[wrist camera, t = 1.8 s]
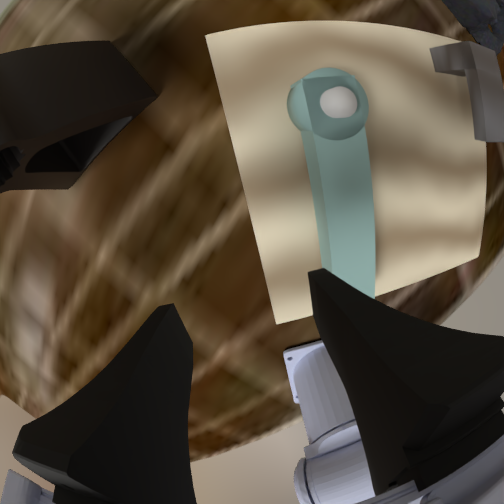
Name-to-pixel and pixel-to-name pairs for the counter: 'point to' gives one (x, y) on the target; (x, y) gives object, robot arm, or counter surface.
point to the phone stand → (63, 110)
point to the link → (338, 171)
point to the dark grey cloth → (481, 20)
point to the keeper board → (378, 140)
